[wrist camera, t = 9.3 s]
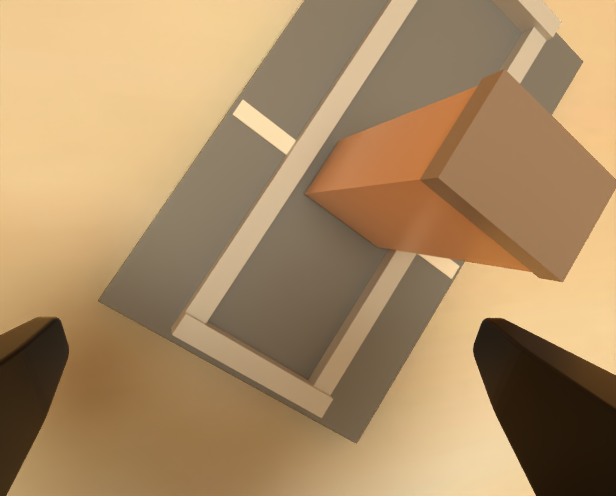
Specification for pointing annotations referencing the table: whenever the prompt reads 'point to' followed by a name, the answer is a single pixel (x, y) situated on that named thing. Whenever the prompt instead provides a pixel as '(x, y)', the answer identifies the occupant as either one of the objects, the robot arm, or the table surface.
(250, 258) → the board
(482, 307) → the table surface
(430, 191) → the fader tab
